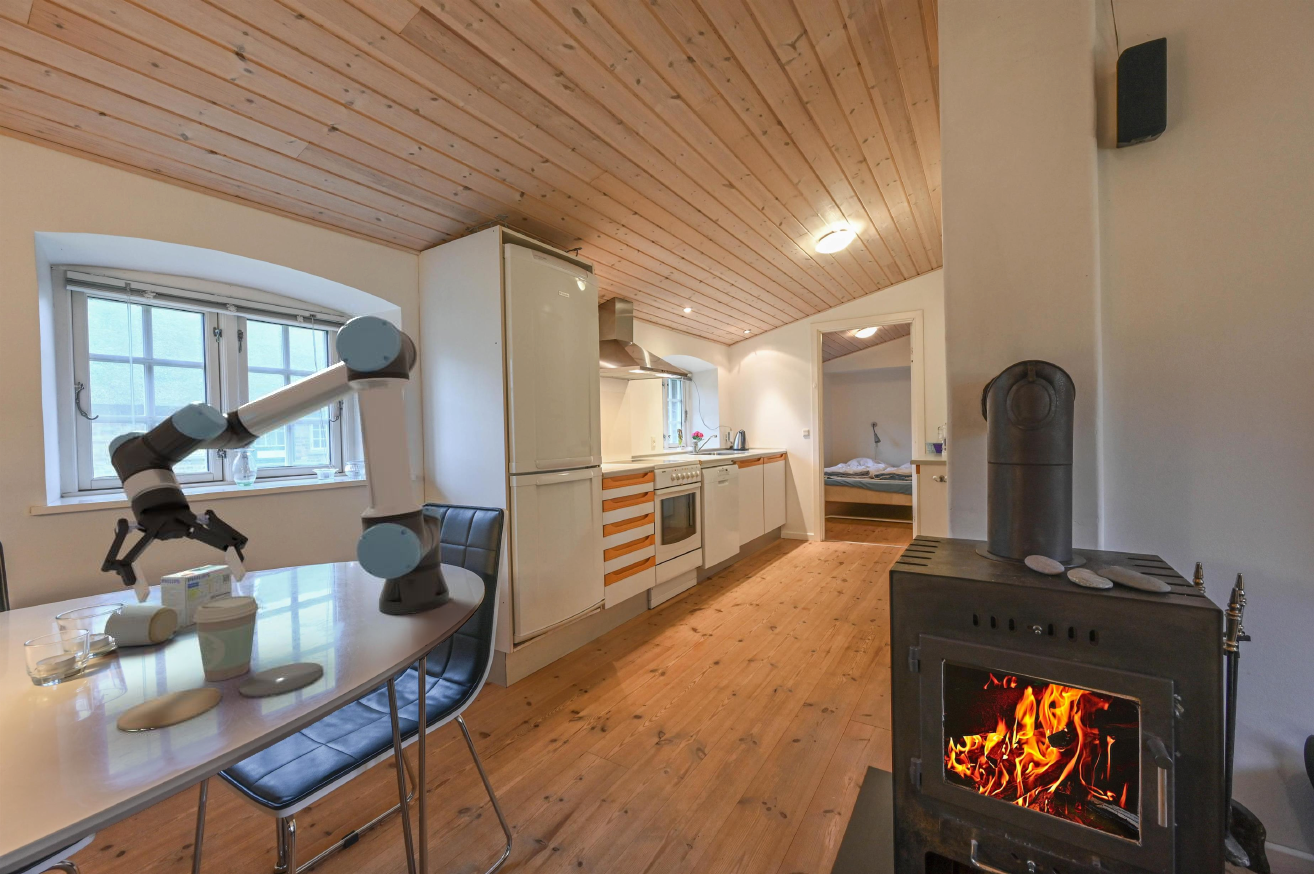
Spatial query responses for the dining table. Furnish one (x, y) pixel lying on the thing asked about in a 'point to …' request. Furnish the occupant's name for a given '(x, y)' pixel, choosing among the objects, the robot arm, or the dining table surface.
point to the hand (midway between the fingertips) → (196, 587)
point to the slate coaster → (281, 679)
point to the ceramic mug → (142, 625)
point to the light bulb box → (195, 590)
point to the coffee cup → (226, 636)
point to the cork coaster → (169, 709)
